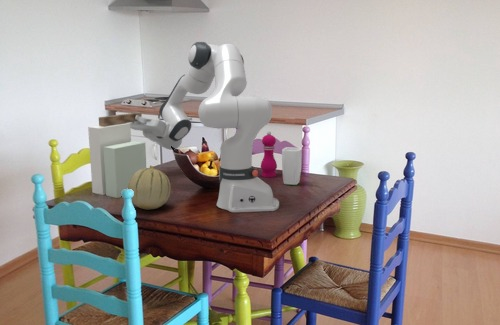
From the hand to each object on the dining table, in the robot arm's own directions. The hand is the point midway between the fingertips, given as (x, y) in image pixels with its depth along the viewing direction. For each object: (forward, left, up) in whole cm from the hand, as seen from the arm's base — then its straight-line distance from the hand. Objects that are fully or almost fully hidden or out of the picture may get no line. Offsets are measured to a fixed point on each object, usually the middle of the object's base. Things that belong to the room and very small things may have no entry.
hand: (131, 116), depth 217 cm
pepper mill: (-56, -17, -29) cm, 65 cm away
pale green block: (-1, +14, -28) cm, 32 cm away
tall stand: (+6, +10, -28) cm, 31 cm away
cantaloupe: (-16, +35, -29) cm, 48 cm away
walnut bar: (+3, +5, -2) cm, 6 cm away
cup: (-66, -3, -29) cm, 72 cm away
